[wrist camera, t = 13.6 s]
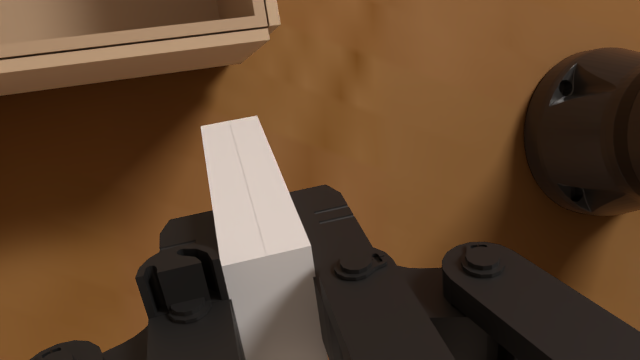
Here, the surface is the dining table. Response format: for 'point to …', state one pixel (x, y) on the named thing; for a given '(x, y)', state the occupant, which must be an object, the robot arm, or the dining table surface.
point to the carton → (124, 39)
